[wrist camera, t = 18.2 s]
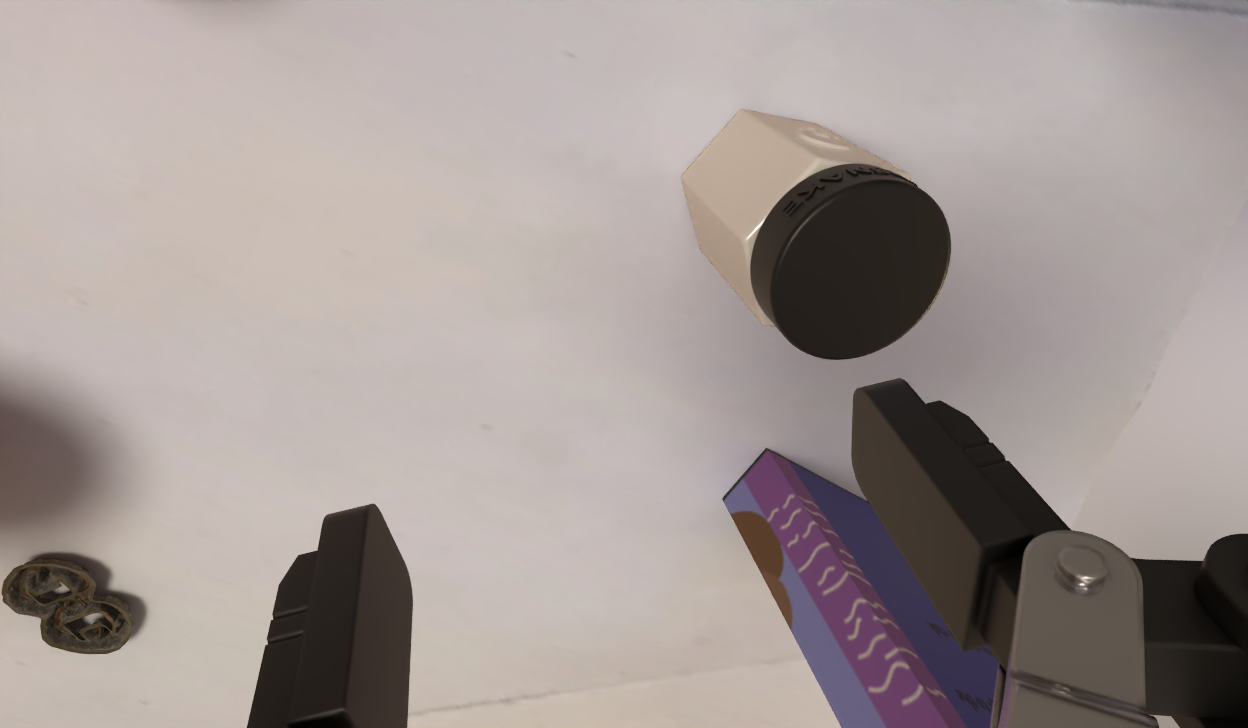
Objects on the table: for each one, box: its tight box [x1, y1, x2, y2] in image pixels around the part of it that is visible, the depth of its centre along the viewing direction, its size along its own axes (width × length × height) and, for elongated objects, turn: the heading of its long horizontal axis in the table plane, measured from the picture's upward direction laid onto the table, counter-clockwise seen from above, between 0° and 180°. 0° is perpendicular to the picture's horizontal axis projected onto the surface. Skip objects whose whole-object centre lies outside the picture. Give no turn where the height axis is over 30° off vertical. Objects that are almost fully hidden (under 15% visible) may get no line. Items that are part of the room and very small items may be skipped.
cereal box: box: [723, 448, 999, 728], centre depth 46 cm, size 17×5×24 cm, turn 54°
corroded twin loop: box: [2, 559, 133, 654], centre depth 45 cm, size 5×8×1 cm, turn 16°
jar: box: [681, 109, 951, 360], centre depth 37 cm, size 9×8×12 cm
